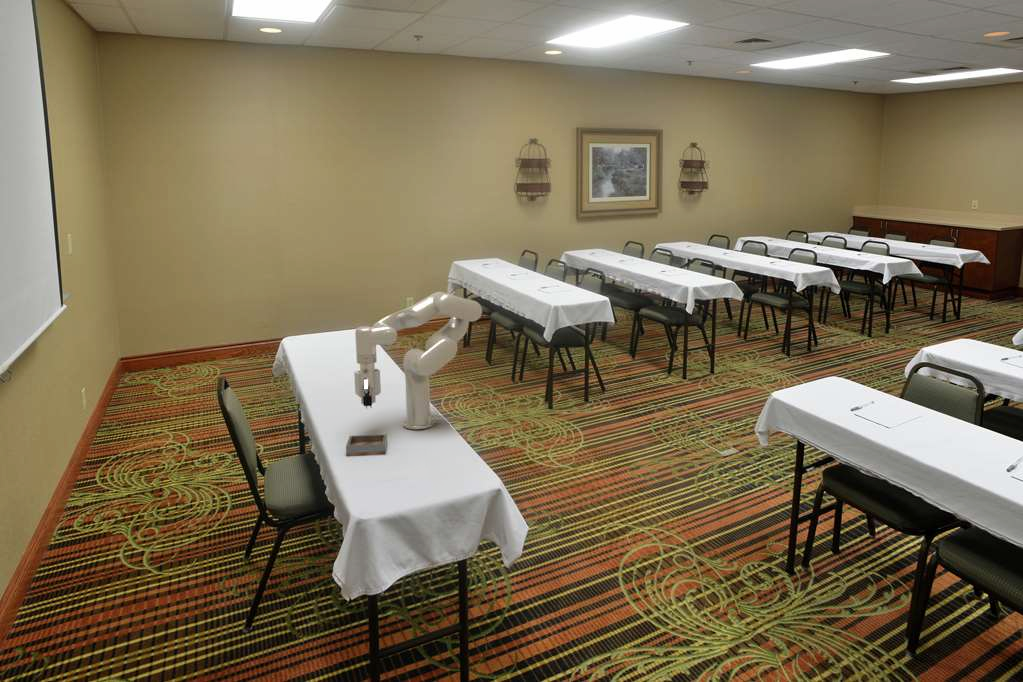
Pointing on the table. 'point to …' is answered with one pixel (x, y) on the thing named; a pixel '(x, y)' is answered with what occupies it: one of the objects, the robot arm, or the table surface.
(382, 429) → the table surface
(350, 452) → the tray
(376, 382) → the charger
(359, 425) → the table surface
